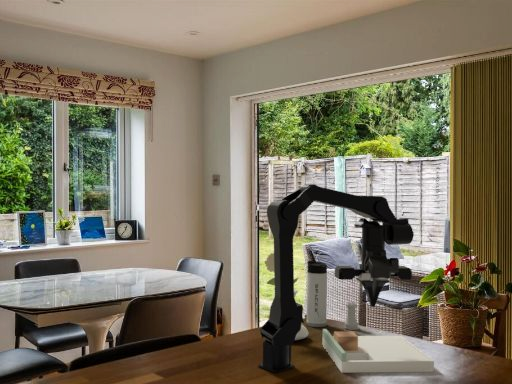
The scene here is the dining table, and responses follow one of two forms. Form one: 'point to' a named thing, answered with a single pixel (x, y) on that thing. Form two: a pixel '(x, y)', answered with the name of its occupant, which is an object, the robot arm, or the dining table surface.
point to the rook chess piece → (351, 317)
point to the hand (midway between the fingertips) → (372, 306)
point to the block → (347, 340)
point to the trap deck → (378, 355)
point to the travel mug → (316, 294)
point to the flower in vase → (270, 267)
